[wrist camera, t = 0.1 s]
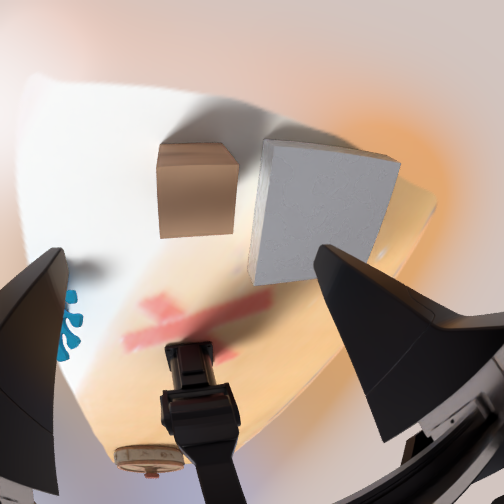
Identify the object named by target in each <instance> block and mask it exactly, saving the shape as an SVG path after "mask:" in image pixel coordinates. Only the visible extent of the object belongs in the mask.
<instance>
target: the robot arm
mask: <svg viewBox="0 0 504 504" xmlns="http://www.w3.org/2000/svg"><path fill="white" fill-rule="evenodd" d="M313 268H314V271H315V274H316V277H317V279H318V282H319V285H320V288H321V291H322V294H323V297H324V300H325V302H326V305H327V307H328V309H329V311H330V313H331V316H332V318H333V320H334V322H335V325H336V327H337V329H338V331H339V334H340V336H341V338H342V341H343V343H344V345H345V348H346V350H347V352H348V354H349V357H350V359H351V362H352V364H353V366H354V369H355V371H356V374H357V376H358V379H359V381H360V383H361V386H362V388H363V391H364V394H365V395H366V399H367V401H368V404H369V407H370V409H371V412H372V414H373V417H374V419H375V422H376V425H377V428H378V430H379V433H380V436H381V438H382V441H383V442H384V443H385V442H387V441H389V440H390V439H392V438H394V437H396V436H397V435H399V434H400V433H402V432H404V431H405V430H407V429H408V428H410V427H411V426H413V425H415V424H416V423H417V422H418V423H419V424H420V426H421V428H422V430H421V431H419V432H418V433H417V434H415V435H414V436H412V437H411V438H409V439H408V440H407V441H406V445H405V450H404V454H403V458H402V462H401V466H400V467H399V468H397V469H396V470H394V471H393V472H391V473H389V474H388V475H386V476H384V477H383V478H381V479H379V480H378V481H376V482H374V483H373V484H371V485H369V486H367V487H365V488H364V489H362V490H360V491H358V492H356V493H354V494H352V495H350V496H348V497H346V498H344V499H342V500H340V501H337V502H335V503H333V504H454V502H456V501H457V499H458V498H459V497H460V496H461V495H462V494H463V493H464V492H465V491H466V490H467V489H468V488H469V486H470V485H471V484H473V483H475V482H477V481H479V480H481V479H483V478H485V477H487V476H489V475H491V474H493V473H495V472H497V471H499V470H501V469H502V468H504V312H500V313H493V314H485V315H477V316H463V315H460V314H457V313H455V312H453V311H451V310H450V309H448V308H445V307H444V306H442V305H440V304H438V303H436V302H434V301H433V300H431V299H429V298H427V297H425V296H423V295H422V294H420V293H418V292H416V291H415V290H413V289H411V288H409V287H408V286H405V285H404V284H402V283H401V282H399V281H397V280H395V279H394V278H392V277H390V276H388V275H387V274H385V273H383V272H381V271H379V270H378V269H376V268H374V267H372V266H370V265H369V264H367V263H365V262H363V261H361V260H359V259H358V258H356V257H354V256H352V255H350V254H348V253H346V252H345V251H343V250H341V249H339V248H337V247H335V246H333V245H331V244H322V245H320V246H319V248H318V251H317V254H316V257H315V259H314V262H313ZM68 276H69V270H68V265H67V261H66V257H65V253H64V250H63V249H62V248H51V249H49V250H48V251H47V252H45V253H44V254H43V255H41V256H40V257H39V258H38V259H36V260H35V261H34V262H33V263H31V264H30V265H29V266H28V267H26V268H25V269H24V270H23V271H22V272H20V273H19V274H18V275H17V276H16V277H14V278H13V279H12V280H11V281H10V282H9V283H8V284H7V285H5V286H4V287H3V288H2V289H1V290H0V504H36V503H35V502H34V499H33V490H32V489H34V490H38V491H42V492H45V493H49V494H53V495H57V496H59V490H58V483H57V476H56V467H55V455H54V436H53V400H54V383H55V372H56V362H57V354H58V347H59V340H60V334H61V328H62V322H63V316H64V309H65V299H66V290H67V283H68ZM165 353H166V357H167V361H168V365H169V369H170V371H171V372H172V378H173V385H174V390H168V391H167V390H163V395H162V396H160V402H161V423H162V425H163V426H165V427H166V429H167V430H168V432H169V435H170V436H171V435H174V438H175V442H176V443H177V445H178V447H179V449H180V451H181V452H182V453H183V454H184V455H185V456H186V457H187V458H188V459H189V460H190V461H191V462H192V463H193V464H194V465H195V466H196V470H197V474H198V478H199V482H200V486H201V489H202V493H203V496H204V500H205V503H206V504H247V503H246V500H245V497H244V494H243V491H242V488H241V485H240V482H239V479H238V476H237V473H236V470H235V467H234V464H233V460H232V456H233V454H234V451H235V448H236V445H237V440H238V435H239V429H238V426H240V425H241V421H240V415H239V410H238V407H237V404H236V401H235V399H234V396H233V393H232V391H231V388H230V385H229V383H224V384H219V385H217V384H216V380H215V376H214V372H213V368H212V366H213V345H212V342H202V343H194V344H184V345H174V346H166V347H165ZM491 504H504V495H502V496H500V497H498V498H496V499H495V500H494V501H493V502H492V503H491Z"/></svg>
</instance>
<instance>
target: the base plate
mask: <svg viewBox="0 0 504 504" xmlns="http://www.w3.org/2000/svg"><path fill="white" fill-rule="evenodd" d="M400 165H401V163H400V162H398V161H396V160H394V159H392V158H391V157H389V156H387V155H383V154H378V153H373V152H368V151H362V150H356V149H350V148H344V147H337V146H330V145H323V144H315V143H306V142H296V141H286V140H273V139H264V143H263V151H262V159H261V166H260V174H259V182H258V189H257V197H256V205H255V213H254V220H253V228H252V236H251V244H250V252H249V260H248V267H247V271H248V274H249V276H250V279H251V281H252V284H253V286H259V285H268V284H276V283H284V282H292V281H300V280H308V279H315V278H317V277H316V274H315V271H314V268H313V262H314V259H315V257H316V254H317V251H318V248H319V246H320V245H322V244H331V245H333V246H335V247H337V248H339V249H341V250H343V251H345V252H346V253H348V254H350V255H352V256H354V257H356V258H358V259H359V260H361V261H363V262H365V263H367V260H368V258H369V255H370V253H371V250H372V248H373V245H374V243H375V240H376V238H377V235H378V232H379V230H380V227H381V224H382V221H383V219H384V216H385V213H386V210H387V207H388V204H389V201H390V198H391V195H392V192H393V189H394V186H395V182H396V179H397V176H398V172H399V169H400Z"/></svg>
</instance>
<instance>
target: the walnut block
mask: <svg viewBox="0 0 504 504" xmlns="http://www.w3.org/2000/svg"><path fill="white" fill-rule="evenodd" d="M238 172H239V164H238V163H237V161H236V160H235V159H234V157H233V156H232V155H231V154H230V152H229V151H228V150H227V149H226V147H225V146H224V145H223V144H222V143H178V144H160V146H159V152H158V159H157V166H156V174H157V199H158V215H159V229H160V239H164V238H178V237H193V236H208V235H224V234H233V226H234V215H235V204H236V193H237V182H238Z"/></svg>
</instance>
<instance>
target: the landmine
mask: <svg viewBox="0 0 504 504" xmlns="http://www.w3.org/2000/svg"><path fill="white" fill-rule="evenodd" d="M114 460H115V464H116V465H117V467H118V468H119V469H121V470H125V471H130V472H139V473H146V474H144V475H145V477H146V478H159V474H157V473H165V472H172V471H177V470H181V469H183V468H184V466H183V465H184V464H185V463H184V458H183V454H182V453H180V451H179V450H178V449H174V448H169V447H160V446H130V447H122V448H118V449H116V451H115V453H114Z"/></svg>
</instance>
